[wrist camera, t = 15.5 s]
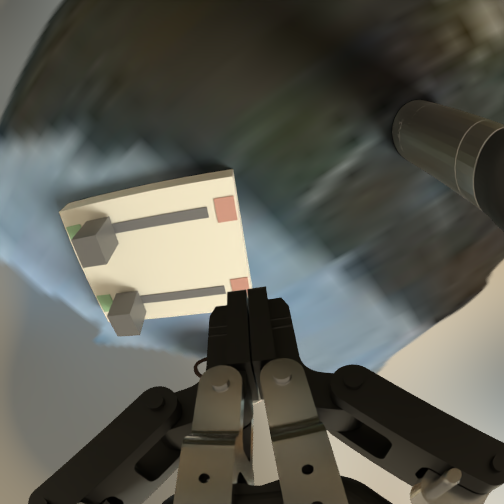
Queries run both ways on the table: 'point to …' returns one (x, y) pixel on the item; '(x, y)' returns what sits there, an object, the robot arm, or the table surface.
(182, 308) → the switch panel
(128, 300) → the slider
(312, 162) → the table surface
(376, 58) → the table surface
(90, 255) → the slider
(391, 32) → the table surface
